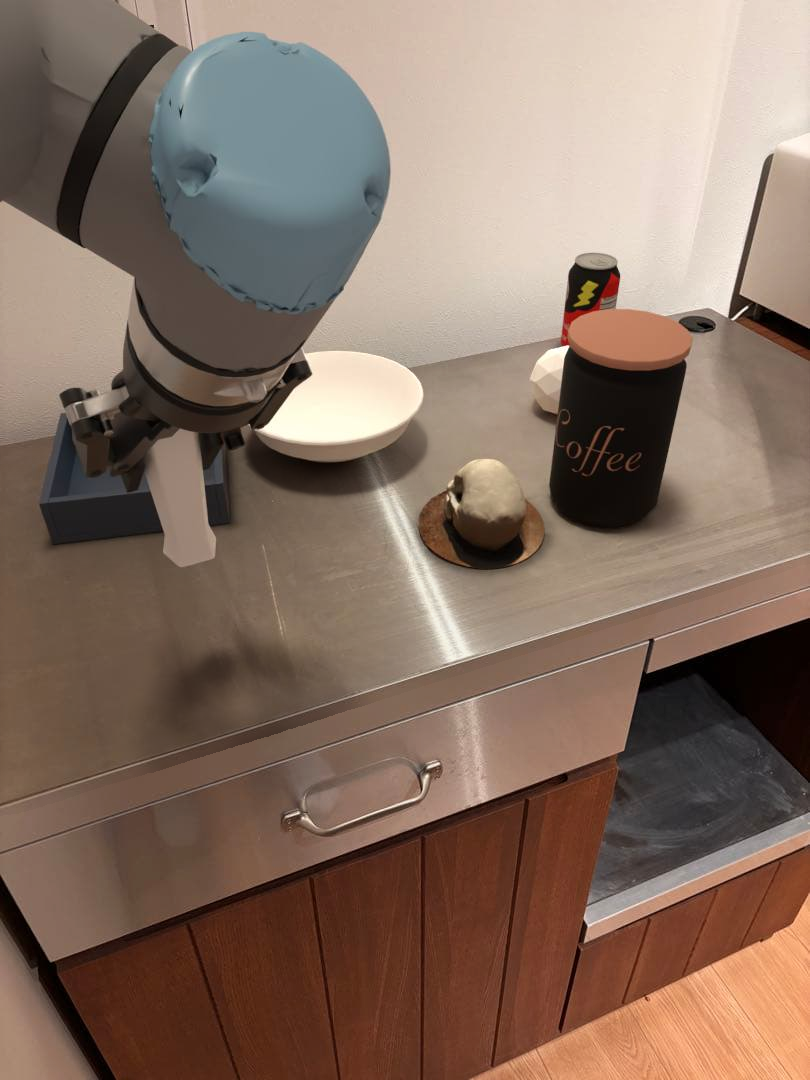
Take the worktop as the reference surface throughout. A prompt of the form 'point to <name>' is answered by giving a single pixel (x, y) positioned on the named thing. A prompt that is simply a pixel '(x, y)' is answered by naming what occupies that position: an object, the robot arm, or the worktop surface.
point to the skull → (482, 518)
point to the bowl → (344, 408)
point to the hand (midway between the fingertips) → (162, 462)
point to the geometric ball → (548, 379)
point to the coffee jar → (616, 415)
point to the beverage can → (590, 288)
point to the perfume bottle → (180, 497)
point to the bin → (111, 497)
